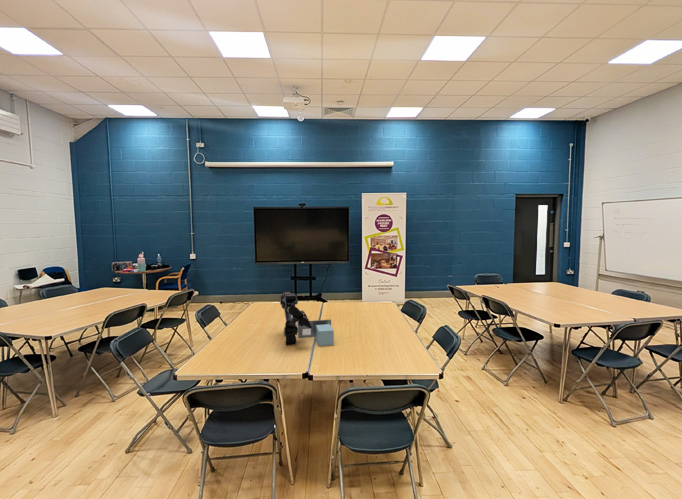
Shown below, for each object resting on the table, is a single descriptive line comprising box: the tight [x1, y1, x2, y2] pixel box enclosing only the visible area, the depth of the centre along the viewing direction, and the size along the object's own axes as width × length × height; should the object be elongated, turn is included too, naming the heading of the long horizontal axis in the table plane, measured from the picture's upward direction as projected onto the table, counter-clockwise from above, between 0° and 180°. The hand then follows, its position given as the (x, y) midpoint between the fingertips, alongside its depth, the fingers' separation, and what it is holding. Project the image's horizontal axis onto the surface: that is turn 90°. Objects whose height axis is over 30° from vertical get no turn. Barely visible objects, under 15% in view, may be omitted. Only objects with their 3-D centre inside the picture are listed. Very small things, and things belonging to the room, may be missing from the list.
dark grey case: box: [297, 318, 332, 339], centre depth 219 cm, size 30×25×12 cm
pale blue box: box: [315, 324, 335, 347], centre depth 214 cm, size 10×14×10 cm
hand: (310, 325), depth 212 cm, fingers open, 9 cm apart
